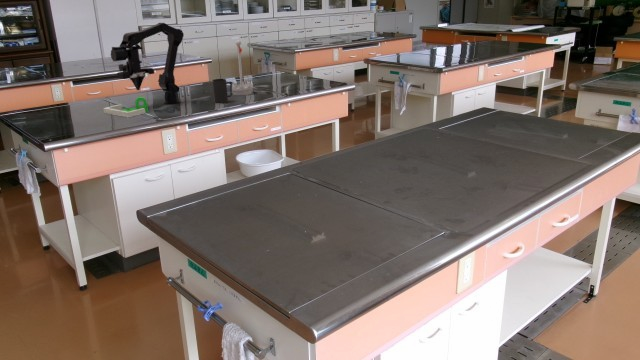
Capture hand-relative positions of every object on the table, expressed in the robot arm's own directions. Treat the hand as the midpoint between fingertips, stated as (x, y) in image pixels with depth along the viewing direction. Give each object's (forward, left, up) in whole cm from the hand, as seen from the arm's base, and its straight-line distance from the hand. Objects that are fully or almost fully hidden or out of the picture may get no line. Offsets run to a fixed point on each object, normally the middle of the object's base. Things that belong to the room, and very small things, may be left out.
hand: (138, 90), depth 268 cm
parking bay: (+10, 0, -10) cm, 14 cm away
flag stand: (-55, +20, -10) cm, 60 cm away
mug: (-33, +27, -10) cm, 44 cm away
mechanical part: (+6, +4, -10) cm, 13 cm away
